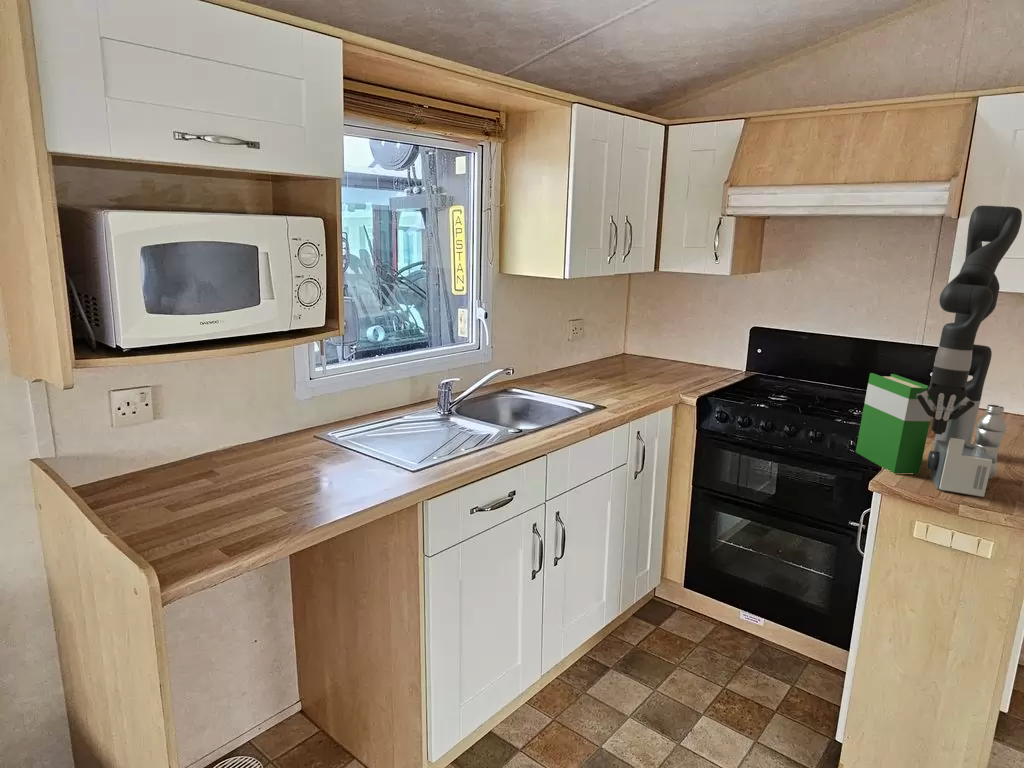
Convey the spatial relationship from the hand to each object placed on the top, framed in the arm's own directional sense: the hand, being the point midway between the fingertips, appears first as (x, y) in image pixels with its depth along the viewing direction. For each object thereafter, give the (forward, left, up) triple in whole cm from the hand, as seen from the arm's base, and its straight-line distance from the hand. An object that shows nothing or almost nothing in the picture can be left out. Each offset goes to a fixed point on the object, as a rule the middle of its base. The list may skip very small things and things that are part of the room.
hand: (937, 433), depth 172 cm
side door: (0, +8, -14) cm, 16 cm away
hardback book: (-18, -7, -15) cm, 25 cm away
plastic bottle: (-19, +16, -15) cm, 29 cm away
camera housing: (-7, +8, -15) cm, 18 cm away
